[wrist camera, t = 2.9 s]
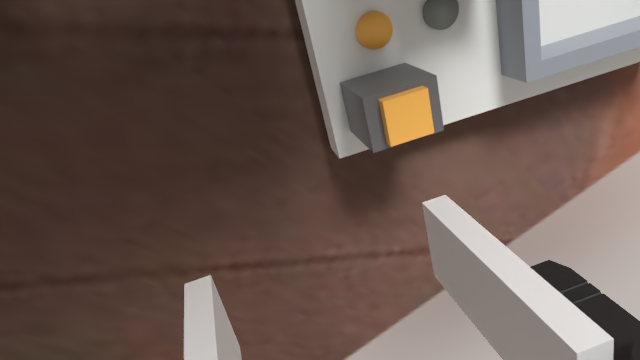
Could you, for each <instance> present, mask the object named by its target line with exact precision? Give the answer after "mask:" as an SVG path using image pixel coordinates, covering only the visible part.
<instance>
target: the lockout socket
mask: <svg viewBox="0 0 640 360" xmlns="http://www.w3.org/2000/svg"><path fill="white" fill-rule="evenodd" d="M496 10H497V23H498V35H499V48H500V61H501V73H502V75H504V76H507V77H510V78H513V79H516V80H519V81H522V82H525V83H528V82H531V81H534V80H537V79H540V78H544V77H547V76H550V75H553V74H556V73H559V72H562V71H566V70H569V69H572V68H575V67H578V66H581V65H584V64H588V63H591V62H594V61H597V60H600V59H603V58H606V57H610V56H613V55H616V54H619V53H622V52H625V51H628V50H632V49H635V48H638V47H640V16H637V17H634V18H631V19H628V20H624V21H621V22H618V23H615V24H611V25H608V26H605V27H602V28H598V29H595V30H592V31H589V32H586V33H582V34H579V35H576V36H573V37H569V38H566V39H563V40H560V41H556V42H553V43H550V44H547V45H544V46H541V37H540V15H539V0H496Z"/></svg>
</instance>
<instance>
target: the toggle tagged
mask: <svg viewBox="0 0 640 360" xmlns="http://www.w3.org/2000/svg"><path fill="white" fill-rule="evenodd" d="M340 86H341V90H342V95H343V99H344V104H345V108H346V113H347V117H348V122H349V126H350V131H351V132H352V133H353V134H354V135H355V136H356V137H357V138H358V139H359V140H360V141H361V142H362V143H363V144H364V145H365V146H366V147H367V148H369V149H370V150H371V151H372V152H373V153H375V152H379V151H382V150H385V149H388V148H391V147H394V146H397V145H400V144H403V143H406V142H409V141H412V140H416V139H419V138H422V137H425V136H428V135H431V134H434V133H437V132H440V131H443V130H444V126H443V119H442V112H441V104H440V97H439V90H438V82H437V75H435V74H432V73H430V72H427V71H425V70H422V69H420V68H417V67H415V66H412V65H410V64H407V63H402V64H399V65H396V66H392V67H389V68H386V69H382V70H379V71H376V72H372V73H369V74H366V75H362V76H359V77H356V78H353V79H349V80H346V81H343V82H340Z"/></svg>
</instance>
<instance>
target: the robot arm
mask: <svg viewBox="0 0 640 360" xmlns="http://www.w3.org/2000/svg"><path fill="white" fill-rule="evenodd" d="M422 206H423V212H424V218H425V223H426V229H427V235H428V241H429V247H430V253H431V259H432V265H433V271H434V276H435V277H436V278H437V280H438V281H439V282H440V283H441V285H442V286H443V287H444V288H445V289H446V291H447V292H448V293H449V294H450V296H451V297H452V298H453V299H454V300H455V302H456V303H457V304H458V305H459V306H460V308H461V309H462V310H463V311H464V313H465V314H466V315H467V316H468V317H469V319H470V320H471V321H472V322H473V324H474V325H475V326H476V327H477V328H478V330H479V331H480V332H481V333H482V335H483V336H484V337H485V338H486V339H487V340H488V342H489V343H490V344H491V345H492V347H493V348H494V349H495V350H496V352H497V353H498V354H499V355H500V357H501V358H502V359H503V360H640V321H639V320H637V319H636V318H635V317H633V316H632V315H631V314H629V313H628V312H627V311H626V310H624V309H623V308H622V307H620V306H619V305H618V304H616V303H615V302H614V301H613V300H611V299H610V298H609V297H607V296H606V295H605V294H601V292H600V290H598V289H597V288H596V287H594V286H593V285H592V284H590V283H589V284H588V283H587V281H586V280H585V279H584V278H583V277H581V276H580V275H579V274H577V273H576V272H575V271H573V270H572V269H571V268H569V267H566V266H563V265H561V264H558V263H556V262H553V261H550V260H548V261H545V262H542V263H540V264H537V265H534V266H531V267H529V266H528V265H527V264H526V263H525V262H523V261H522V260H521V259H520V258H519V257H518V256H516V255H515V254H514V253H513V252H512V251H510V250H509V249H508V248H507V247H506V246H505V245H503V244H502V243H501V242H500V241H499V240H498V239H496V238H495V237H494V236H493V235H492V234H491V233H489V232H488V231H487V230H486V229H485V228H484V227H482V226H481V225H480V224H479V223H478V222H477V221H475V220H474V219H473V218H472V217H471V216H470V215H468V214H467V213H466V212H465V211H464V210H463V209H461V208H460V207H459V206H458V205H457V204H456V203H454V202H453V201H452V200H451V199H450V198H448V197H447V196H446V195H443V196H440V197H437V198H434V199H431V200H429V201H426V202H423V203H422ZM184 360H242V359H241V352H240V346H239V343H238V341H237V338H236V336H235V333H234V331H233V329H232V326H231V324H230V321H229V319H228V316H227V314H226V311H225V309H224V306H223V304H222V301H221V299H220V296H219V294H218V292H217V289H216V287H215V284H214V282H213V279H212V277H211V275H209V276H206V277H203V278H201V279H198V280H195V281H192V282H189V283H186V284H184Z"/></svg>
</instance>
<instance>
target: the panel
mask: <svg viewBox="0 0 640 360" xmlns="http://www.w3.org/2000/svg"><path fill="white" fill-rule="evenodd" d="M295 3H296V7H297V11H298V15H299V19H300V24H301V28H302V32H303V36H304V40H305V44H306V48H307V52H308V56H309V60H310V64H311V68H312V73H313V77H314V81H315V85H316V89H317V93H318V97H319V101H320V105H321V109H322V113H323V118H324V122H325V126H326V130H327V134H328V138H329V142H330V146H331V149H332V150H333V151H334V152H335V154H336V155H337V156H338V157H339V158H343V157H346V156H349V155H353V154H356V153H359V152H362V151H365V150H368V149H369V148H367V147H366V146H365V145H364V144H363V143H362V142H361V141H360V140H359V139H358V138H357V137H356V136H355V135H354V134H353V133H352V132H351V131H350V126H349V122H348V117H347V113H346V108H345V104H344V99H343V95H342V90H341V86H340V82H343V81H346V80H349V79H353V78H356V77H359V76H362V75H366V74H369V73H372V72H376V71H379V70H382V69H386V68H389V67H392V66H396V65H399V64H402V63H407V64H410V65H412V66H415V67H417V68H420V69H422V70H425V71H427V72H430V73H432V74H435V75H437V82H438V90H439V97H440V104H441V112H442V119H443V125H446V124H449V123H452V122H455V121H458V120H461V119H464V118H467V117H470V116H473V115H477V114H480V113H483V112H486V111H489V110H492V109H495V108H498V107H501V106H504V105H508V104H511V103H514V102H517V101H520V100H523V99H526V98H529V97H532V96H535V95H539V94H542V93H545V92H548V91H551V90H554V89H557V88H560V87H563V86H566V85H570V84H573V83H576V82H579V81H582V80H585V79H588V78H591V77H594V76H597V75H601V74H604V73H607V72H610V71H613V70H616V69H619V68H622V67H625V66H628V65H632V64H635V63H638V62H640V47H638V48H635V49H632V50H628V51H625V52H622V53H619V54H616V55H613V56H610V57H606V58H603V59H600V60H597V61H594V62H591V63H588V64H584V65H581V66H578V67H575V68H572V69H569V70H566V71H562V72H559V73H556V74H553V75H550V76H547V77H544V78H540V79H537V80H534V81H531V82H528V83H525V82H522V81H519V80H516V79H513V78H510V77H507V76H504V75H502V73H501V61H500V48H499V35H498V23H497V10H496V0H295ZM539 15H540V37H541V46H544V45H547V44H550V43H553V42H556V41H560V40H563V39H566V38H569V37H573V36H576V35H579V34H582V33H586V32H589V31H592V30H595V29H598V28H602V27H605V26H608V25H611V24H615V23H618V22H621V21H624V20H628V19H631V18H634V17H637V16H640V0H539Z"/></svg>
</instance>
